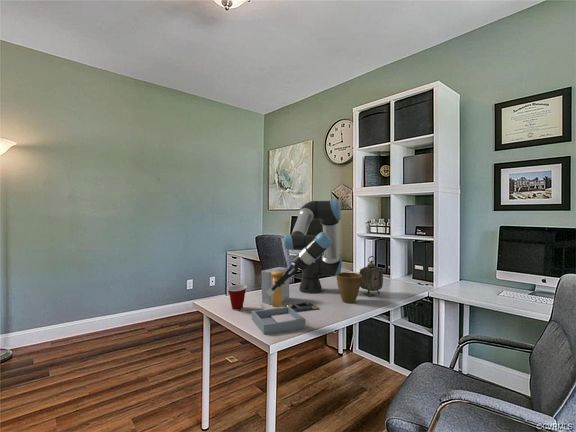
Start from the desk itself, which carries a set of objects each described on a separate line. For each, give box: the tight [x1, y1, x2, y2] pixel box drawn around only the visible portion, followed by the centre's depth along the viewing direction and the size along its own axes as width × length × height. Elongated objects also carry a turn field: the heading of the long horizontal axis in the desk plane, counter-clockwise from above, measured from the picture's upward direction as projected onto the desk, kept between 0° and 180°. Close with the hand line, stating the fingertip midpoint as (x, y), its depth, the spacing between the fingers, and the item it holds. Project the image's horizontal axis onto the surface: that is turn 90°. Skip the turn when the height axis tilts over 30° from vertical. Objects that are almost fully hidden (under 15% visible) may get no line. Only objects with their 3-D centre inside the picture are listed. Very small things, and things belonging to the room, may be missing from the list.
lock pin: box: [271, 271, 284, 308], centre depth 145 cm, size 6×6×16 cm
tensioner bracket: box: [284, 301, 321, 313], centre depth 165 cm, size 16×12×3 cm
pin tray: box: [251, 306, 306, 335], centre depth 146 cm, size 20×20×4 cm
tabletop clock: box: [358, 255, 384, 297], centre depth 197 cm, size 14×9×25 cm, turn 131°
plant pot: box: [335, 271, 362, 304], centre depth 182 cm, size 15×15×16 cm
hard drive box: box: [261, 266, 290, 306], centre depth 177 cm, size 16×8×20 cm, turn 135°
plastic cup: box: [226, 284, 248, 311], centre depth 167 cm, size 11×11×12 cm
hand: (269, 292), depth 146 cm, fingers closed on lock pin, 4 cm apart
